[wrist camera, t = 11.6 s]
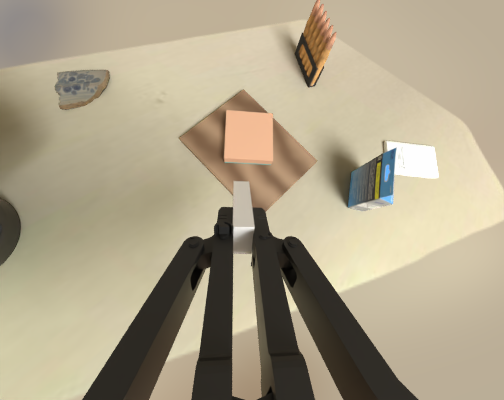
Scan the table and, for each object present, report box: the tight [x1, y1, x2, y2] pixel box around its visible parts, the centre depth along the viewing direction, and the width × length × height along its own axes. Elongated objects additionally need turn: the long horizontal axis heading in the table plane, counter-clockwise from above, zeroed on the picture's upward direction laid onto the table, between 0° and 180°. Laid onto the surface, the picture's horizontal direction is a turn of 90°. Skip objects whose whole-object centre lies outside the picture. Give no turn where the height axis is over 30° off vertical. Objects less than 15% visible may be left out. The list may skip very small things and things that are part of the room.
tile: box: [224, 110, 273, 165], centre depth 39 cm, size 2×10×11 cm
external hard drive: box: [384, 141, 439, 179], centre depth 44 cm, size 2×8×12 cm
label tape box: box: [348, 147, 397, 211], centre depth 36 cm, size 9×4×12 cm, turn 168°
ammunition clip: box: [295, 0, 336, 87], centre depth 41 cm, size 11×2×12 cm, turn 16°
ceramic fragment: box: [55, 70, 109, 110], centre depth 40 cm, size 11×3×10 cm
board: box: [179, 89, 317, 212], centre depth 41 cm, size 19×24×1 cm
